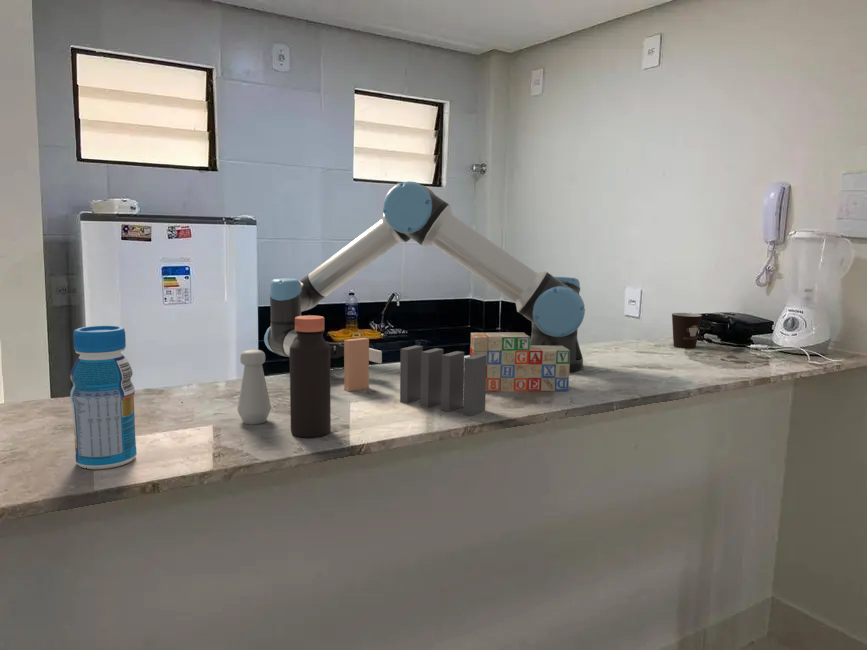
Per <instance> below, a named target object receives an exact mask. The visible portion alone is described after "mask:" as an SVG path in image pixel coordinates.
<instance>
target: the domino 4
mask: <svg viewBox="0 0 867 650" xmlns="http://www.w3.org/2000/svg"><path fill="white" fill-rule="evenodd" d="M486 360H487V355H482V354H477V355H474V356H470V355H469V356H467V357H464V389H463V406H462V408H463V410H462V411H463V412H462V413H463V414H462V415H463V416H467V415H468V416H469V417H473V416H475V415H477V414H480V413H482V412H484V411H486V392H487V391H486Z"/></svg>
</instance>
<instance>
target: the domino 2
mask: <svg viewBox="0 0 867 650" xmlns="http://www.w3.org/2000/svg"><path fill="white" fill-rule="evenodd" d="M442 355H444V349H443V348H438V347H437V348H436V347H435V348H431V349H427V350H423V352H421V399H420V407H422V408H430V407H433V406H436V405H439V404H441V392H442Z"/></svg>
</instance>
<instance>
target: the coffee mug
mask: <svg viewBox="0 0 867 650" xmlns="http://www.w3.org/2000/svg"><path fill="white" fill-rule="evenodd" d="M671 321H672V339H673V340H672V342H673V343H672V344H673V347H674V348H677V349H684V350H685V349H688V350H690V349H691V350H692V349H696V347H697V342H698V338H699V336H701V335H702V334H703V333H704V332H705V331H706V330H707V329H708V328H709V325H710V324H709V322H710V321H709V320H708V319H707V318H705V317H703V315H702V314H699V313H692V312H690V313H689V312H673V313H671ZM702 321H705V323H706V326H705V327H704V329H703V330H702V331H700V327H701V323H702Z"/></svg>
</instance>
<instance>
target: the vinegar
mask: <svg viewBox="0 0 867 650" xmlns="http://www.w3.org/2000/svg"><path fill="white" fill-rule="evenodd" d="M295 331H296V332H295V333H296V334H297V339H296V340H295V341H294V343H293V344H292V345H291V346H290V358H289V394H290V395H289V397H290V399H289V401H290V403H289V404H290V405H289V407H290V408H289V409H290V411H289V412H290V433H291V434H292V435H293V436H295V437H297V438H298V437H299V438H305V439H307V438H308V439H311V438H312V439H313V438H320V437H323V436H326V435H328V434H329V433H330V432H331V428H332V426H331V422H332V421H331V419H332V418H331V413H332V412H331V403H332V402H331V358H330V346H329V344H328V343H327V342H328V341H326V339H325V338H324V336H323V335H324V333H325V317H324V316H321V315H311V314H308V315H301V316H297V317H295ZM323 338H324V339H325V340H324V339H323Z"/></svg>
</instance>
